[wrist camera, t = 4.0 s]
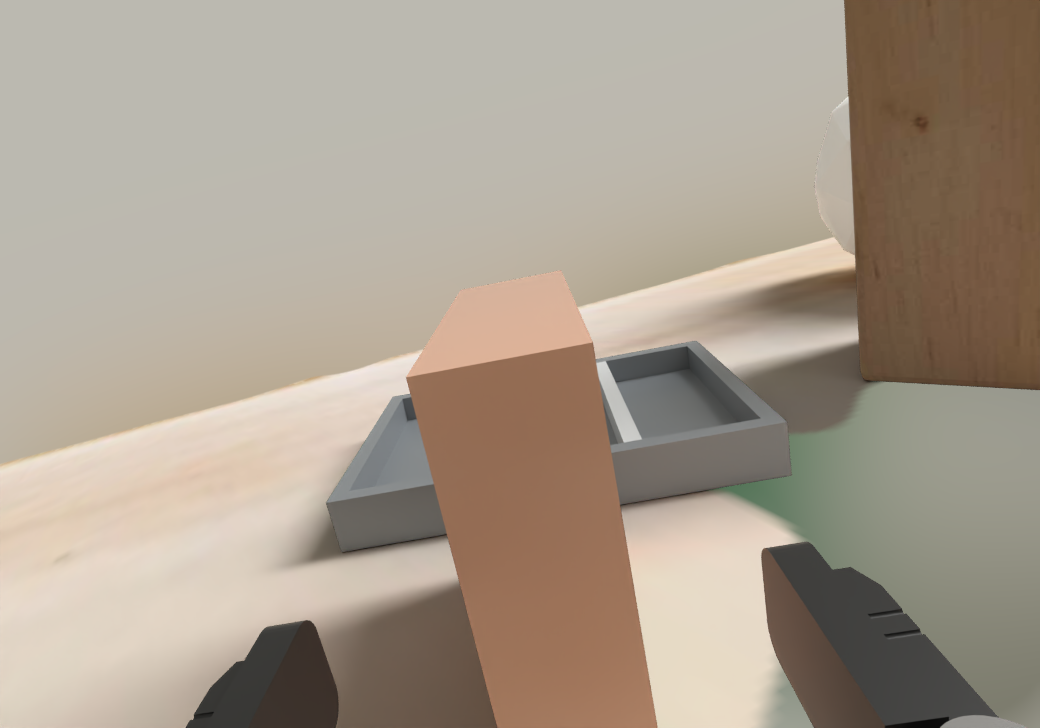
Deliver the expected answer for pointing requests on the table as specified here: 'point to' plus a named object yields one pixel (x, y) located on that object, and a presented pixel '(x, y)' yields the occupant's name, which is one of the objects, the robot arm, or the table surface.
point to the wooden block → (946, 189)
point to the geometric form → (836, 178)
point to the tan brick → (533, 506)
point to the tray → (632, 435)
